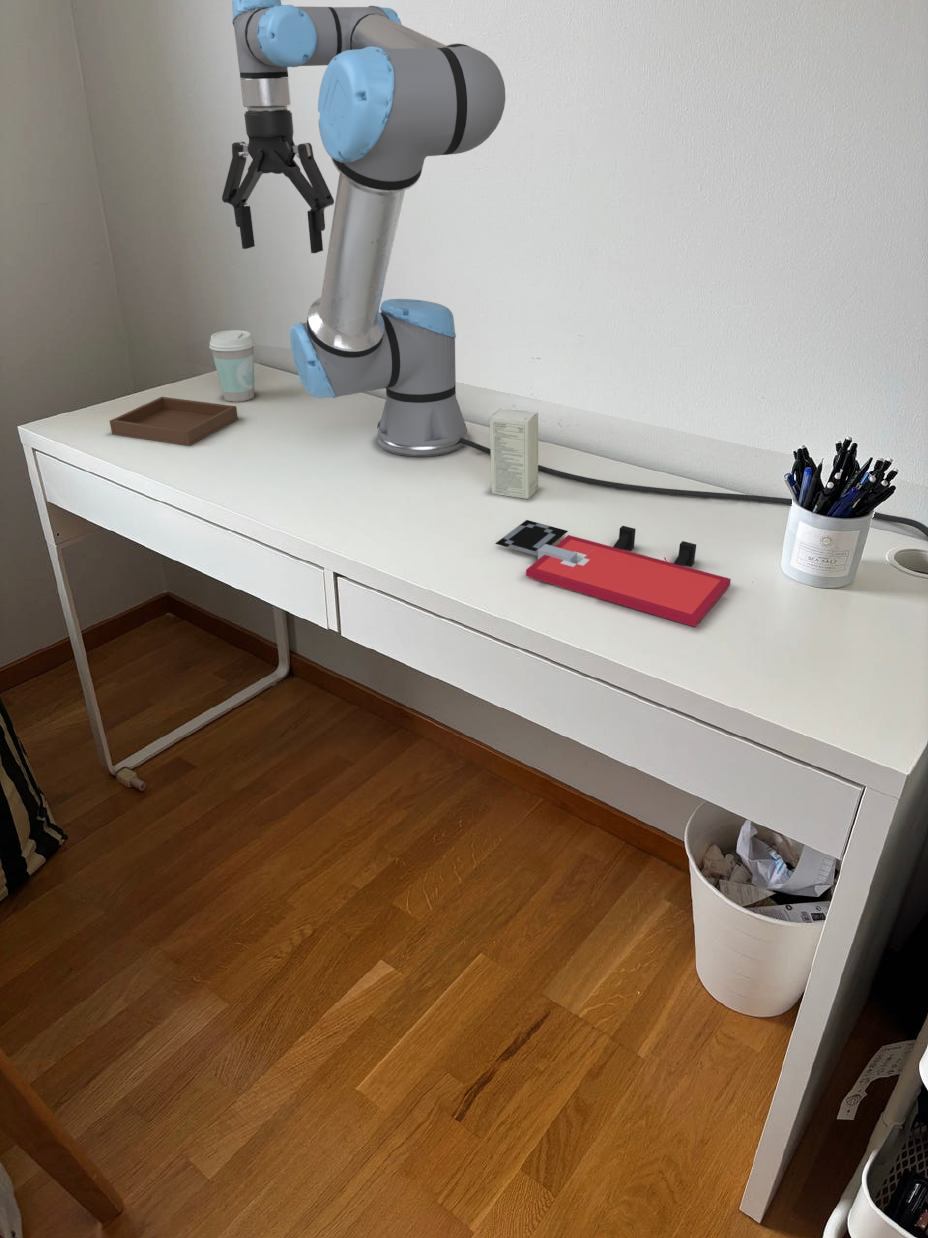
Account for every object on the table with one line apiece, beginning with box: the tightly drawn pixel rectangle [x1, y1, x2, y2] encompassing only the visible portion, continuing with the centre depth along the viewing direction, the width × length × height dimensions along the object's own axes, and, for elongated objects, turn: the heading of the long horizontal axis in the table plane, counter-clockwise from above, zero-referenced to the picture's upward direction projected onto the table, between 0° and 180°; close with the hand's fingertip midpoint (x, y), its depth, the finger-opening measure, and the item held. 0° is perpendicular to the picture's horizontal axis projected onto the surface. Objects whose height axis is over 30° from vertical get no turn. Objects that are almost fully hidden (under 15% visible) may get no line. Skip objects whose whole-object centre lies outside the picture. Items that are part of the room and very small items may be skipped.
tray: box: [109, 396, 239, 447], centre depth 171 cm, size 17×15×2 cm
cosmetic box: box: [489, 408, 539, 500], centre depth 141 cm, size 6×4×12 cm
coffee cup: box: [208, 329, 256, 403], centre depth 183 cm, size 8×8×12 cm
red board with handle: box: [494, 519, 732, 628], centre depth 122 cm, size 30×3×15 cm
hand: (282, 249), depth 163 cm, fingers open, 13 cm apart
